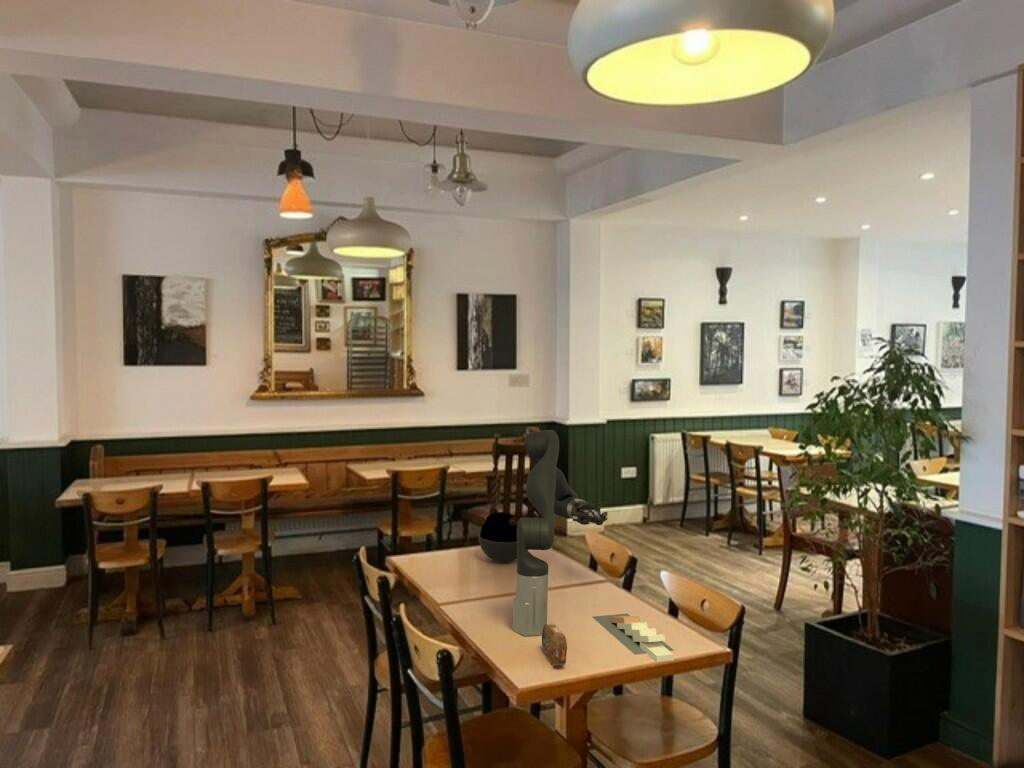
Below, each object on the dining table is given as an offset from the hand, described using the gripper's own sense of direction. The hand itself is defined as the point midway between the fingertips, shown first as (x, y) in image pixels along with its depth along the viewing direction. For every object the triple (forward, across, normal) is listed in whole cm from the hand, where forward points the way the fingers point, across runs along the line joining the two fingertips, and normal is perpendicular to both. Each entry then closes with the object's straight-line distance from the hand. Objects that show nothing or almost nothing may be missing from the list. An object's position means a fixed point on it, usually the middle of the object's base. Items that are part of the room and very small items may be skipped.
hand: (600, 522), depth 244 cm
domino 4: (+31, 0, +27) cm, 41 cm away
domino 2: (+20, 0, +26) cm, 33 cm away
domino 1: (+15, 0, +26) cm, 30 cm away
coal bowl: (-57, -16, +27) cm, 65 cm away
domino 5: (+35, +1, +27) cm, 44 cm away
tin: (+37, -28, +28) cm, 54 cm away
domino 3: (+26, 0, +26) cm, 37 cm away
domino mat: (+24, 0, +28) cm, 37 cm away
